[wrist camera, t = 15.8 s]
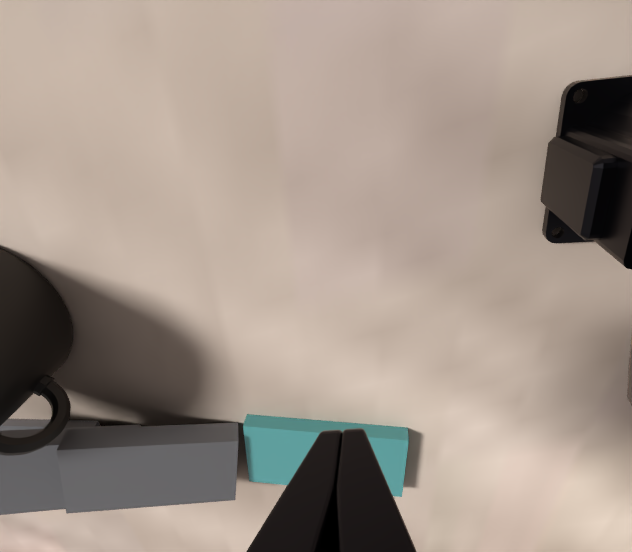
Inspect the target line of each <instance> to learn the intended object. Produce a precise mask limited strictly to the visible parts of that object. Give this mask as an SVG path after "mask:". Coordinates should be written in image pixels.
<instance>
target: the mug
mask: <svg viewBox="0 0 632 552" xmlns="http://www.w3.org/2000/svg"><path fill="white" fill-rule="evenodd" d="M72 340H73V329H72V323H71V319H70V316H69V313H68V311H67V309H66V307H65V305H64V303H63V301H62V300H61V298H60V296H59V295H58V293H57V292H56V291H55V289H54V288H53V287H52V286H51V285H50V283H49V282H48V281H47V280H46V279H45V278H44V277H43V276H42V275H41V274H40V273H38V272H37V271H36V270H35V269H34V268H33V267H31V266H30V265H29V264H27V263H26V262H24V261H23V260H21V259H20V258H18V257H16V256H14V255H13V254H11V253H9V252H7V251H5V250H2V249H0V426H1V425H2V424H3V423H4V422H5V421H6V420H7V419H8V418H9V417H10V416H11V415H12V414H13V413H14V412H15V411H16V410H17V409H18V408H19V407H20V406H21V405H22V404H23V403H24V402H25V401H26V400H27V399H28V398H29V397H30V396H31V395H32V394H33V393H34V394H36V395H38V396H40V395H42V396H43V397H44V398H46V399H47V400H48V402H49V403H50V405H51V408H52V417H51V420H50V422H49V423H48V424H47V426H46V427H45V428H44V429H42V430H41V431H39V432H38V433H36V434H34V435H31V436H28V437H23V438H12V437H7V436H3V435H1V434H2V433H1V432H0V455H6V456H13V455H24V454H28V453H31V452H34V451H36V450H39V449H41V448H43V447H45V446H46V445H48V444H49V443H50V442H51V441H53V440H54V439H55V438H56V437H57V436H58V435H59V434H60V433H61V432H62V431H63V429H64V428H65V426H66V424H67V422H68V420H69V417H70V408H71V406H70V401H69V398H68V396H67V394H66V392H65V391H64V389H63V388H62V387H60V386H59V385H58V384H57V383H56V382H54V378H52V377H50V376H51V375H52V374H53V373H54V372H55V371H56V370H57V369H58V368H59V367H60V366H61V365H62V364H63V363H64V362H65V360H66V359H67V357H68V355H69V352H70V349H71V346H72Z"/></svg>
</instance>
